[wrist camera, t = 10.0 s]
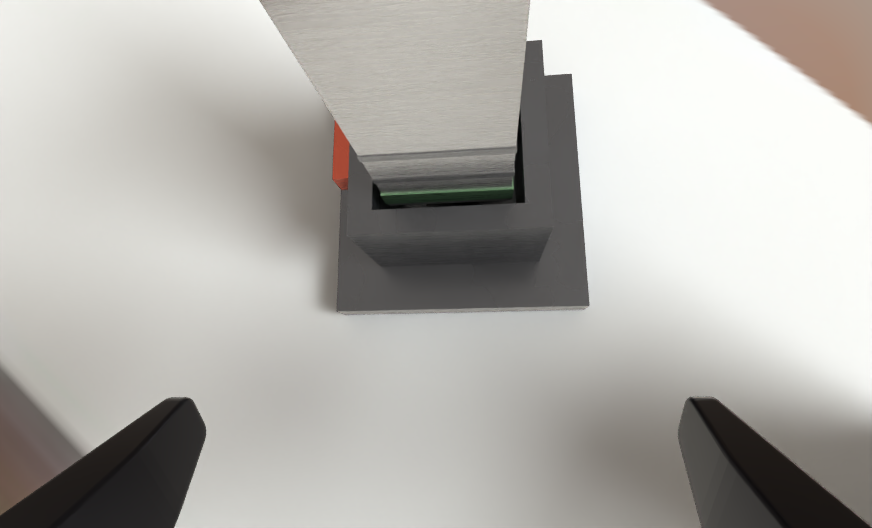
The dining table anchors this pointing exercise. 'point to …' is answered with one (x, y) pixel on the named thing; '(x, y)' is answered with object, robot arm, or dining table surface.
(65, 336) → the dining table surface
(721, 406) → the robot arm
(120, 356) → the dining table surface
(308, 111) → the dining table surface
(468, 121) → the post
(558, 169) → the stand
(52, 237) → the dining table surface
